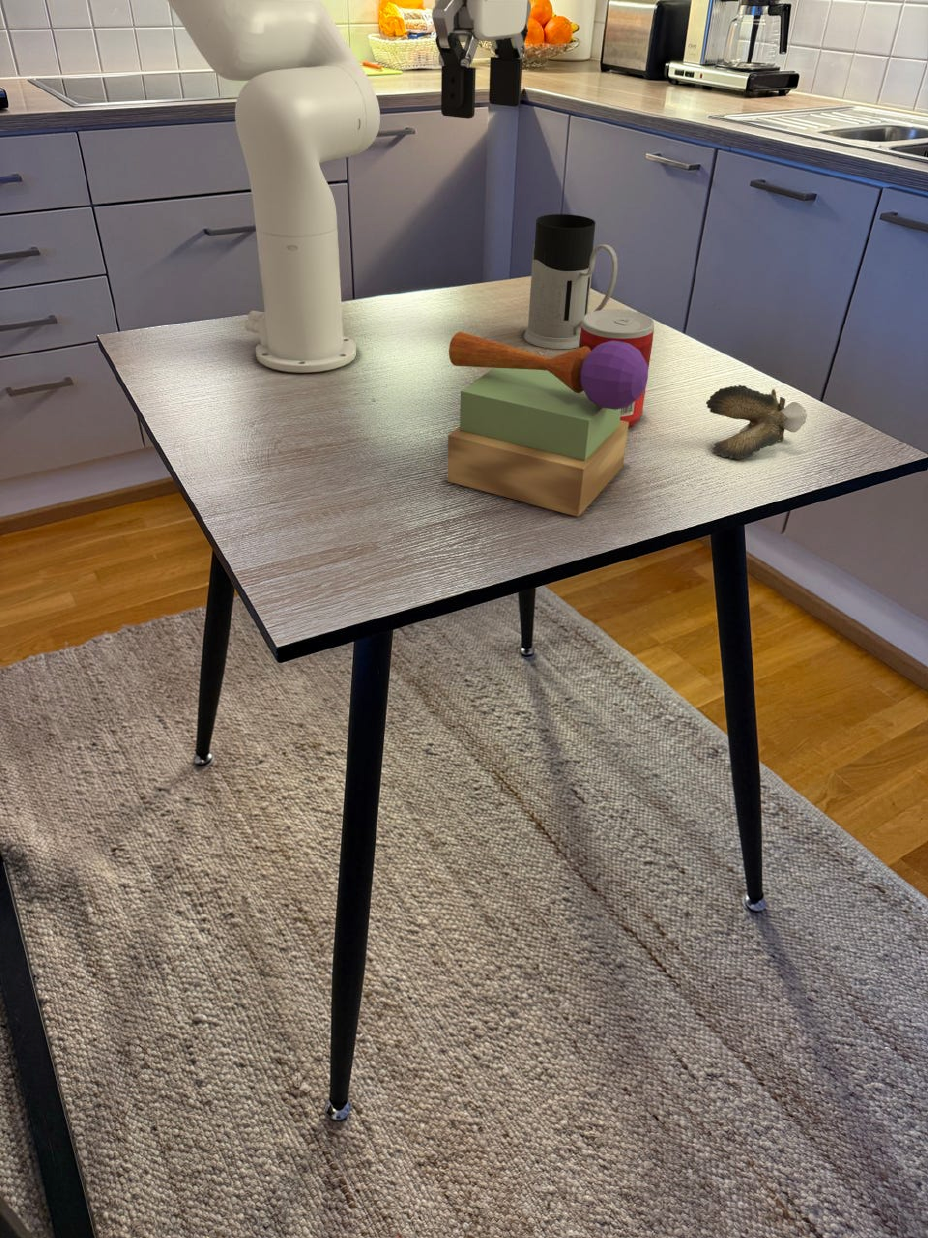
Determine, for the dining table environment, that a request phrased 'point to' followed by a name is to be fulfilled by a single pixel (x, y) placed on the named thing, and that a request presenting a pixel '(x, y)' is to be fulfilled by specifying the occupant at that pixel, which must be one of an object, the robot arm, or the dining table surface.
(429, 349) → the dining table surface
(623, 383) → the purple wooden maraca
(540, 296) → the glass holder
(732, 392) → the eagle figurine
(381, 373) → the dining table surface
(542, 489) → the maple block
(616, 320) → the canned food
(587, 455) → the sage block
